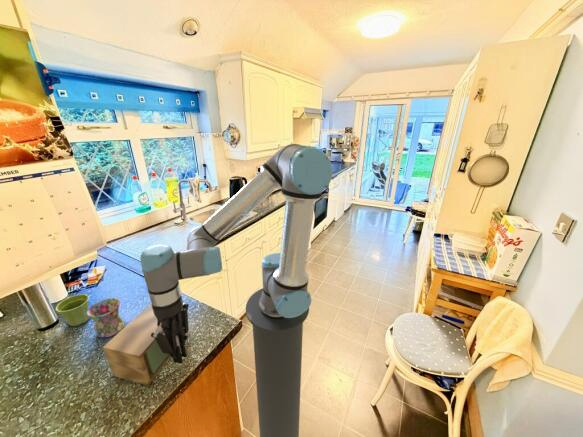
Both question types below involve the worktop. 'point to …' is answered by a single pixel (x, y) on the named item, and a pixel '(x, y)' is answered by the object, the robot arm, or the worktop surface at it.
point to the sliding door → (157, 355)
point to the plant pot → (74, 309)
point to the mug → (106, 317)
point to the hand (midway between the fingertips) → (180, 358)
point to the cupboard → (134, 349)
